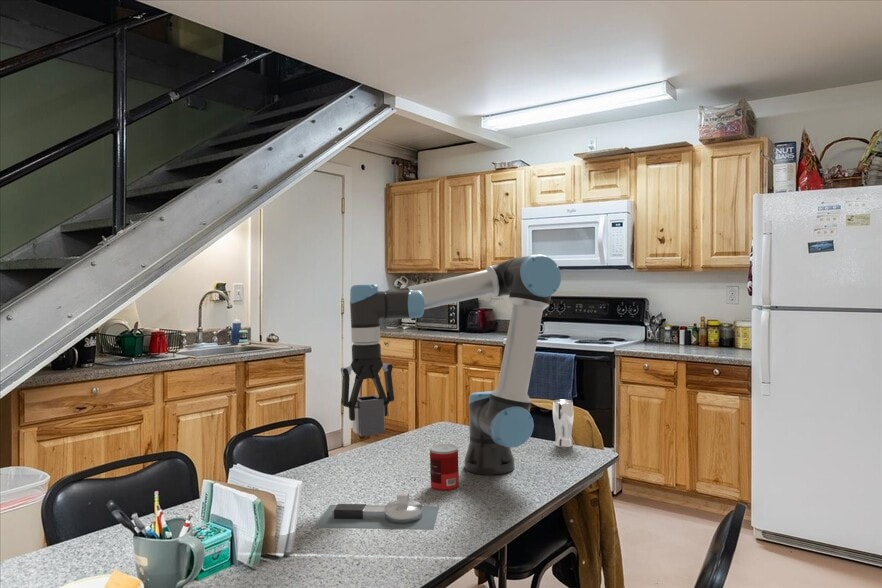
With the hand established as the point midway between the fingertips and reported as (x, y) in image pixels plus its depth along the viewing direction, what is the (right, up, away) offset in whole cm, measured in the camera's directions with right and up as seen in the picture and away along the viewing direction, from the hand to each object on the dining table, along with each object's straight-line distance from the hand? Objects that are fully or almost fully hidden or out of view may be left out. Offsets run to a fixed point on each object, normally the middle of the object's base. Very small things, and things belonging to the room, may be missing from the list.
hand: (369, 430), depth 156 cm
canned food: (+20, -18, +7) cm, 28 cm away
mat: (+4, -18, -13) cm, 23 cm away
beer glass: (+61, -16, +47) cm, 78 cm away
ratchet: (+4, -18, -13) cm, 22 cm away
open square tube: (0, 0, 0) cm, 0 cm away
